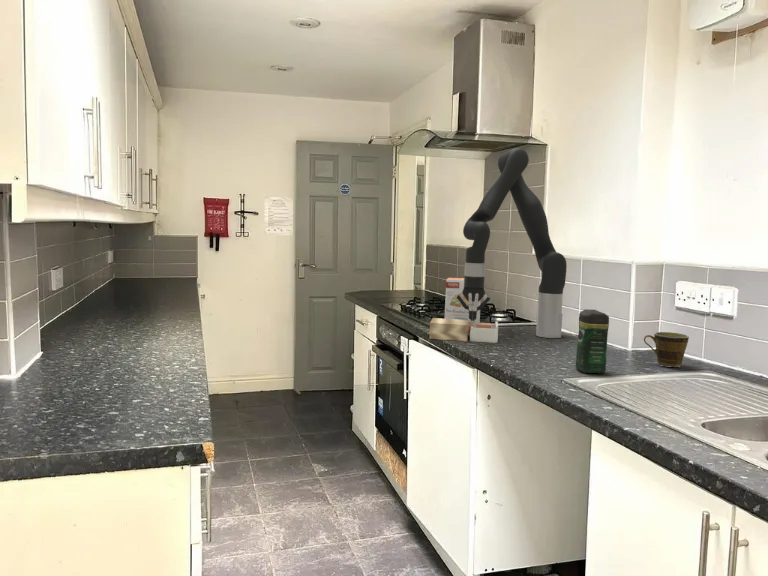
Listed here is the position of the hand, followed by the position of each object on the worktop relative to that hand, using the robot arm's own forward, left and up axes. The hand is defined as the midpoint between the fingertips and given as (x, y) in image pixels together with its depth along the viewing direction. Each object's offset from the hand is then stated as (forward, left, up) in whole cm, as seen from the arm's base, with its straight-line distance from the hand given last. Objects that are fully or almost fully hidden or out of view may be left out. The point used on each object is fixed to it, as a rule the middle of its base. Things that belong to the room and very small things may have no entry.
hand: (472, 320), depth 230 cm
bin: (-4, 0, -7) cm, 8 cm away
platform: (+9, 0, -7) cm, 11 cm away
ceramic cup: (-61, +27, -7) cm, 68 cm away
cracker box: (+5, -19, -7) cm, 21 cm away
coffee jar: (-36, +42, -7) cm, 56 cm away
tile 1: (-4, 0, -4) cm, 6 cm away
